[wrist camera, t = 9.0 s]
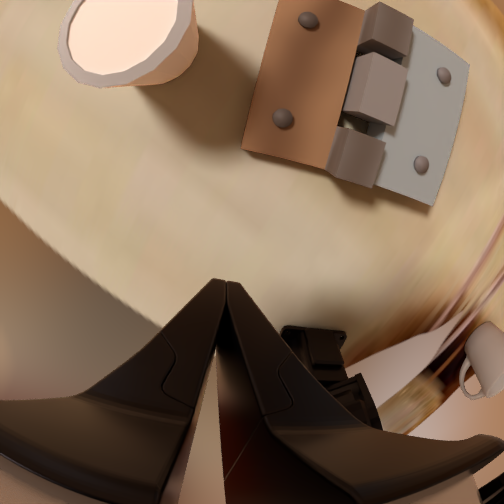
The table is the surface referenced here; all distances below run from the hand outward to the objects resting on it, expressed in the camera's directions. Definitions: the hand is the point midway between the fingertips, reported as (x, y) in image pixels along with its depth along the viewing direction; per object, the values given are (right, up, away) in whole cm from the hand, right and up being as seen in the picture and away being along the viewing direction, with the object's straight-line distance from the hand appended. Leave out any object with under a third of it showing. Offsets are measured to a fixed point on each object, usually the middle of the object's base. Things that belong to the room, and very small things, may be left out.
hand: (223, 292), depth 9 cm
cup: (+32, -11, +21) cm, 40 cm away
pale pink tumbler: (-5, +15, +6) cm, 17 cm away
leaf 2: (+11, +12, +8) cm, 18 cm away
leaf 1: (+5, +13, +7) cm, 16 cm away
